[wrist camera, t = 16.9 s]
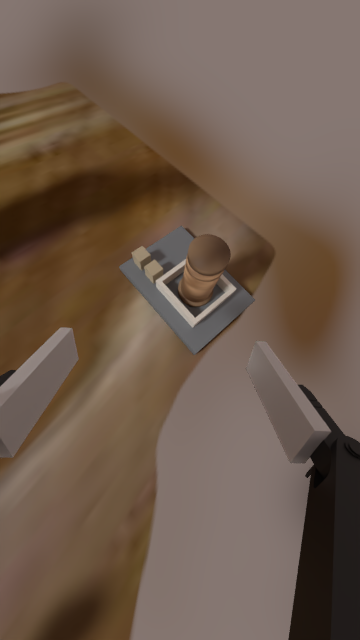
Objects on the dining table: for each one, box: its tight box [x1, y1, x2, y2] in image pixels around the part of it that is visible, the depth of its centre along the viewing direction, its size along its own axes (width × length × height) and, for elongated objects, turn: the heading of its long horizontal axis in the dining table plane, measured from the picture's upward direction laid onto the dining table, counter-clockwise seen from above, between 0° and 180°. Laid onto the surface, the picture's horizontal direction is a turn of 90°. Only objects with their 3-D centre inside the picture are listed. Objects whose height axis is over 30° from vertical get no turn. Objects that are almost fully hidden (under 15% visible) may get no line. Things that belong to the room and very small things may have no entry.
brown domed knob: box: [178, 234, 230, 307], centre depth 30 cm, size 7×7×12 cm
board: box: [119, 226, 255, 355], centre depth 36 cm, size 22×16×4 cm
